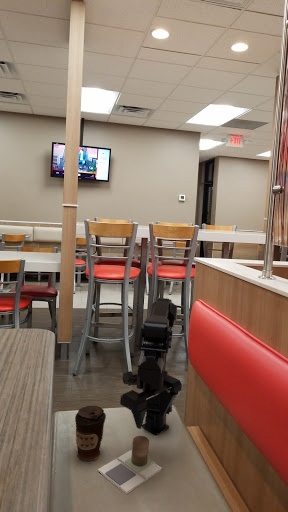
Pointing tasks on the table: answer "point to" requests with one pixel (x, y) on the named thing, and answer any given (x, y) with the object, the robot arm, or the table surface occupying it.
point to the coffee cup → (89, 431)
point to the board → (128, 472)
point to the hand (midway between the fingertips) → (150, 421)
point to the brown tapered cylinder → (140, 450)
